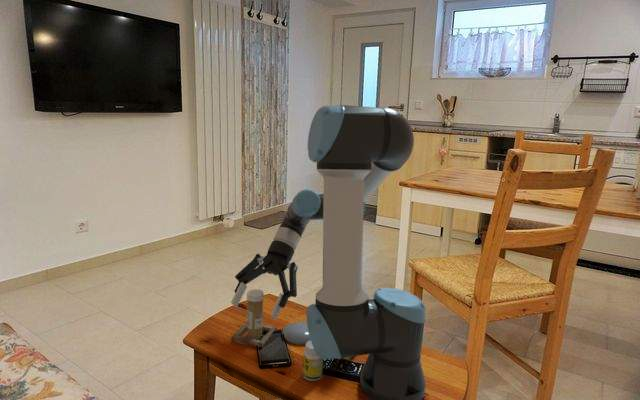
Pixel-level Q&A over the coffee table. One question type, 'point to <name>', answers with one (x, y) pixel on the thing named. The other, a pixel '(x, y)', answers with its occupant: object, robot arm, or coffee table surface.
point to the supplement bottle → (312, 363)
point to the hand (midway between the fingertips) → (253, 311)
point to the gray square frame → (248, 341)
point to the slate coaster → (297, 333)
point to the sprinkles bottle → (254, 313)
